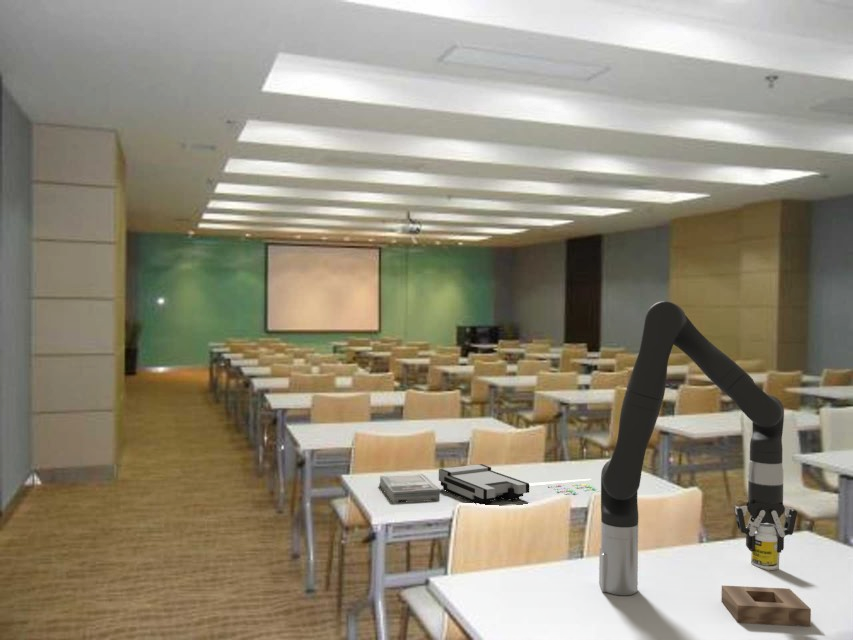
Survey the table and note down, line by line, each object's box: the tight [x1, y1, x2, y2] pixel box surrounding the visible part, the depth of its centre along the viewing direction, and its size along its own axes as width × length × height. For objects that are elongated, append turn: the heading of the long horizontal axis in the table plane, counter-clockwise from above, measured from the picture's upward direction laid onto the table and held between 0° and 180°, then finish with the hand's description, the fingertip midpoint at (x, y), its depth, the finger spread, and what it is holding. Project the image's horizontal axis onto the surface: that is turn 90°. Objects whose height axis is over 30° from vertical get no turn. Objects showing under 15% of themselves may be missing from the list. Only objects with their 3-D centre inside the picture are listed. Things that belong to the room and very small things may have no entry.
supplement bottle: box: [751, 523, 777, 570], centre depth 169 cm, size 5×5×10 cm
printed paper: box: [529, 478, 601, 495], centre depth 286 cm, size 30×30×2 cm
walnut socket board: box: [720, 585, 812, 627], centre depth 169 cm, size 16×12×4 cm
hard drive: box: [379, 473, 441, 503], centre depth 279 cm, size 18×27×4 cm
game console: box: [438, 463, 530, 505], centre depth 277 cm, size 21×32×8 cm, turn 29°
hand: (764, 550), depth 169 cm, fingers closed on supplement bottle, 5 cm apart
